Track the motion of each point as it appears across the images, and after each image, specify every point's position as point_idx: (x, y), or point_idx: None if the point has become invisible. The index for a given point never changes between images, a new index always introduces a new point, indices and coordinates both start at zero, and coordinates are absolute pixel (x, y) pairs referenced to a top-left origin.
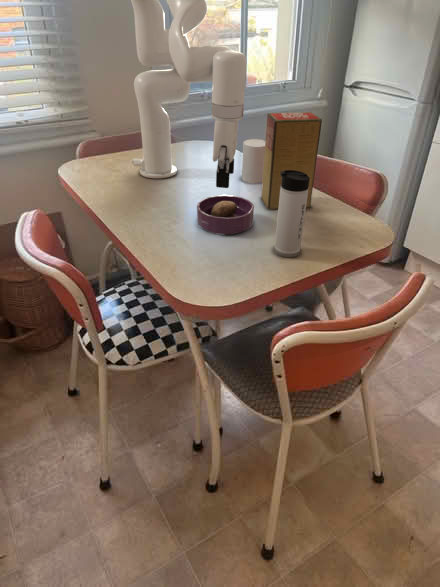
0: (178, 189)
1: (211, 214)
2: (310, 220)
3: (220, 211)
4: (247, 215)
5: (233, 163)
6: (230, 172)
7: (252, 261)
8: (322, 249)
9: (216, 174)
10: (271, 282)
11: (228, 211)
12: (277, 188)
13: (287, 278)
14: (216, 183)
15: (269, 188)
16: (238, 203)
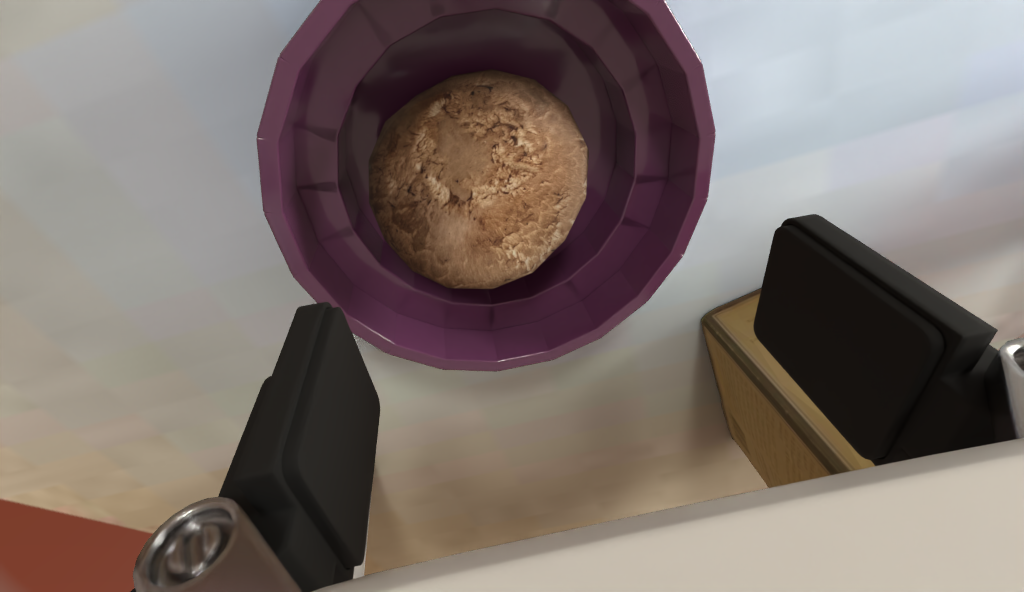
0: None
1: (424, 95)
2: (616, 461)
3: (390, 201)
4: (422, 359)
5: (841, 419)
6: (763, 319)
7: (146, 396)
8: (400, 531)
9: (252, 436)
10: (43, 487)
11: (404, 259)
12: (768, 424)
13: (121, 512)
14: (289, 335)
15: (773, 391)
16: (656, 223)
